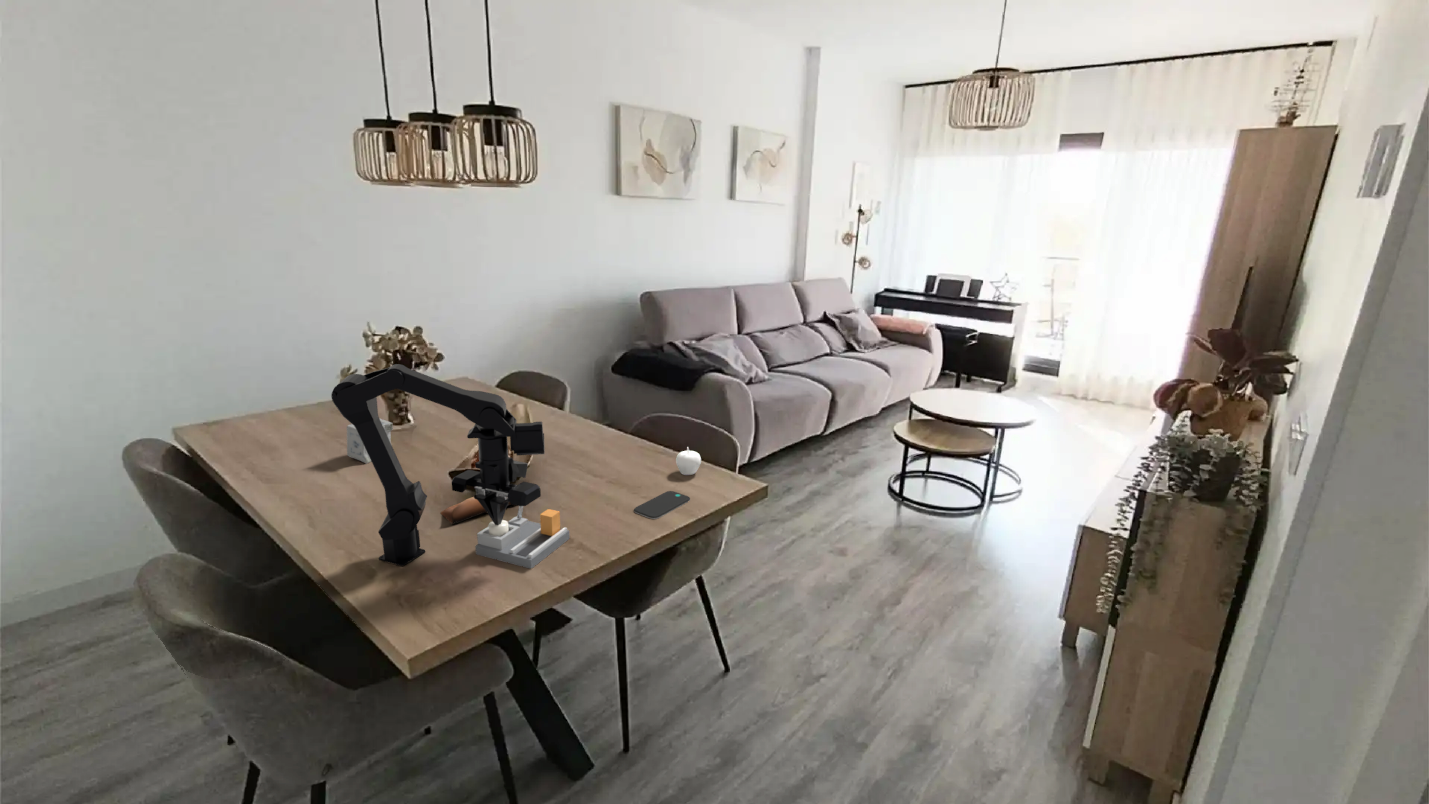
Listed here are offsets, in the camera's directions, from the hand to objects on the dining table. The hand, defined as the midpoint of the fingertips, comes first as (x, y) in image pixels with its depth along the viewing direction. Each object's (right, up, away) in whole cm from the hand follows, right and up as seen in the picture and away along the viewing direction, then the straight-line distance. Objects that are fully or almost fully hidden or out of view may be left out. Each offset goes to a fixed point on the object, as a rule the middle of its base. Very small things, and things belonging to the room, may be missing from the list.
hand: (498, 524), depth 140 cm
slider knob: (+10, -3, +5) cm, 12 cm away
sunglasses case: (-10, 0, +20) cm, 22 cm away
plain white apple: (+39, +6, +45) cm, 60 cm away
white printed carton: (-52, +10, +48) cm, 72 cm away
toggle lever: (+2, 0, +9) cm, 9 cm away
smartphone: (+33, 0, +25) cm, 41 cm away
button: (0, -3, +1) cm, 3 cm away
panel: (+5, -5, +3) cm, 8 cm away
